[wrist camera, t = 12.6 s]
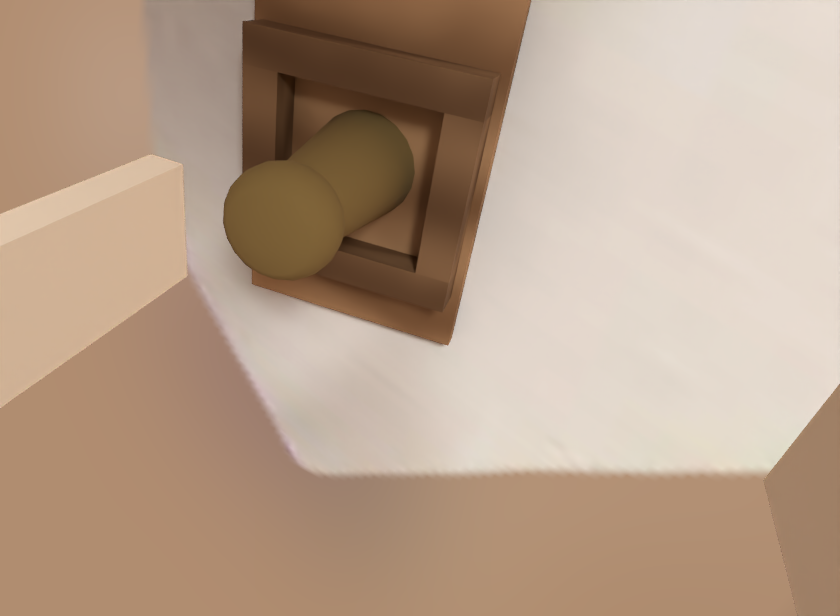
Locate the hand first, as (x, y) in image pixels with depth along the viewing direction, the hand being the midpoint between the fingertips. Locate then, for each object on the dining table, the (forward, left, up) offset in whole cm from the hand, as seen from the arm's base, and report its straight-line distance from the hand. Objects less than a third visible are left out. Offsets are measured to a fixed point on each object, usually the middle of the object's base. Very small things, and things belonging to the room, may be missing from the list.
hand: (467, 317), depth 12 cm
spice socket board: (+5, -10, -22) cm, 24 cm away
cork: (+5, -10, -21) cm, 23 cm away
